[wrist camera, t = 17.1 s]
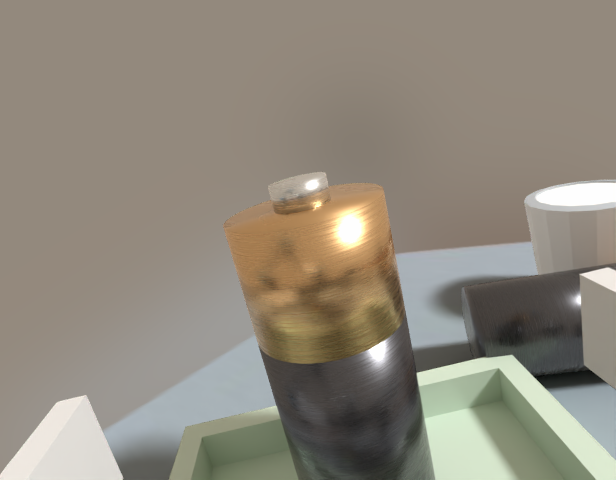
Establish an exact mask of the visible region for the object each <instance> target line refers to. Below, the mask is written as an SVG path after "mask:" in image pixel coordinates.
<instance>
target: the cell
mask: <svg viewBox="0 0 616 480" xmlns="http://www.w3.org/2000/svg"><path fill="white" fill-rule="evenodd" d="M268 189H269V193H270V197H271V200H269V201H267V202H263V203H260V204H258V205H255V206H253V207H250V208H248V209H246V210H243V211H241V212H239V213H237V214H235V215H234V216H232V217H231V218H229V219H228V220H227V221H226V222H225V223H224V230H225V233H226V237H227V240H228V244H229V247H230V250H231V254H232V257H233V261H234V264H235V267H236V271H237V274H238V278H239V281H240V284H241V288H242V291H243V294H244V298H245V301H246V305H247V308H248V311H249V314H250V318H251V321H252V324H253V328H254V332H255V335H256V338H257V342H258V345H259V348H260V352H261V355H262V359H263V362H264V365H265V369H266V372H267V375H268V379H269V382H270V386H271V389H272V392H273V396H274V399H275V402H276V406H277V409H278V412H279V416H280V419H281V423H282V426H283V429H284V433H285V436H286V439H287V443H288V446H289V450H290V453H291V456H292V460H293V463H294V466H295V470H296V473H297V477H298V480H435V474H434V468H433V463H432V457H431V452H430V446H429V440H428V435H427V429H426V424H425V418H424V413H423V407H422V401H421V396H420V390H419V385H418V379H417V373H416V368H415V362H414V357H413V351H412V346H411V340H410V334H409V329H408V323H407V318H406V312H405V306H404V301H403V295H402V290H401V284H400V279H399V273H398V267H397V262H396V256H395V251H394V245H393V239H392V234H391V228H390V223H389V217H388V212H387V206H386V200H385V195H384V189H383V187H382V186H380V185H377V184H371V183H351V184H341V185H333V186H328V182H327V178H326V173H324V172H316V173H308V174H303V175H299V176H294V177H290V178H287V179H283V180H281V181H277V182H275V183H272V184H270V185H269V186H268Z"/></svg>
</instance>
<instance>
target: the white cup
mask: <svg viewBox="0 0 616 480" xmlns="http://www.w3.org/2000/svg"><path fill="white" fill-rule="evenodd" d="M524 204H525V208H526V214H527V219H528V224H529V229H530V235H531V240H532V245H533V251H534V256H535V261H536V266H537V271H538V275H541V274H548V273H554V272H560V271H567V270H573V269H580V268H586V267H593V266H599V265H605V264H612V263H616V180H594V181H582V182H573V183H568V184H562V185H555V186H552V187H548V188H545V189H541V190H538V191H536V192H534V193H532V194H530V195H528V196H527V197H526V199H525V201H524Z"/></svg>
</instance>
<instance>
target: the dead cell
mask: <svg viewBox="0 0 616 480" xmlns="http://www.w3.org/2000/svg"><path fill="white" fill-rule="evenodd" d="M607 267H608V268H611V269H613V270H615V271H616V263H612V264H605V265H599V266H593V267H586V268H580V269H573V270H567V271H560V272H554V273H548V274H541V275H535V276H528V277H522V278H515V279H509V280H502V281H496V282H490V283H483V284H477V285H470V286H464V287H462V291H461V302H462V311H463V317H464V323H465V328H466V333H467V337H468V341H469V345H470V349H471V352H472V356H473V359H478V358H482V357H487V358H491V357H499V356H507V355H513V356H514V357H515V358H516V359H517V360H518V361H519V362H520V363H521V364H522V365H523V366H524V367H525V368H526V369H527V371H528V372H529V373H530V374H531V375H532V376H541V375H549V374H558V373H566V372H575V371H584V370H590V369H589V368H587V367H586V366H585V365H584V357H583V336H582V315H581V295H580V274H583V273H587V272H591V271H595V270H599V269H603V268H607Z"/></svg>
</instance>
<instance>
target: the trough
mask: <svg viewBox="0 0 616 480" xmlns="http://www.w3.org/2000/svg"><path fill="white" fill-rule="evenodd" d="M417 379H418V385H419V390H420V396H421V401H422V407H423V413H424V418H425V424H426V429H427V435H428V440H429V446H430V452H431V457H432V463H433V468H434V474H435V480H616V460H615V459H614V458H613V457H612V456H611V455H610V454H609V453H608V452H607V451H606V450H605V449H604V448H603V447H602V446H601V445H600V444H599V443H598V442H597V441H596V440H595V439H594V438H593V437H592V436H591V435H590V434H589V433H588V432H587V431H586V430H585V429H584V428H583V427H582V426H581V425H580V424H579V423H578V422H577V421H576V420H575V419H574V418H573V416H572V415H571V414H570V413H569V412H568V411H567V410H566V409H565V408H564V407H563V406H562V405H561V404H560V403H559V402H558V401H557V400H556V399H555V398H554V397H553V396H552V395H551V394H550V393H549V392H548V391H547V390H546V389H545V388H544V387H543V386H542V385H541V384H540V383H539V382H538V381H537V380H536V379H535V378H534V377H533V376H532V375H531V374H530V373H529V372H528V371H527V369H526V368H525V367H524V366H523V365H522V364H521V363H520V362H519V361H518V360H517V359H516V358H515V357H514V356H513V355H507V356H499V357H491V358H487V357H482V358H478V359H474V360H469V361H465V362H461V363H457V364H452V365H448V366H444V367H439V368H435V369H431V370H427V371H422V372H418V373H417ZM169 480H298V477H297V473H296V470H295V466H294V463H293V460H292V456H291V453H290V450H289V446H288V443H287V439H286V436H285V433H284V429H283V426H282V423H281V419H280V416H279V412H278V409H277V406H273V407H268V408H264V409H260V410H256V411H251V412H247V413H243V414H238V415H234V416H230V417H226V418H221V419H217V420H213V421H209V422H204V423H200V424H196V425H191V426H187V427H185V430H184V433H183V437H182V440H181V443H180V446H179V449H178V452H177V455H176V458H175V462H174V465H173V468H172V471H171V474H170V477H169Z"/></svg>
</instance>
